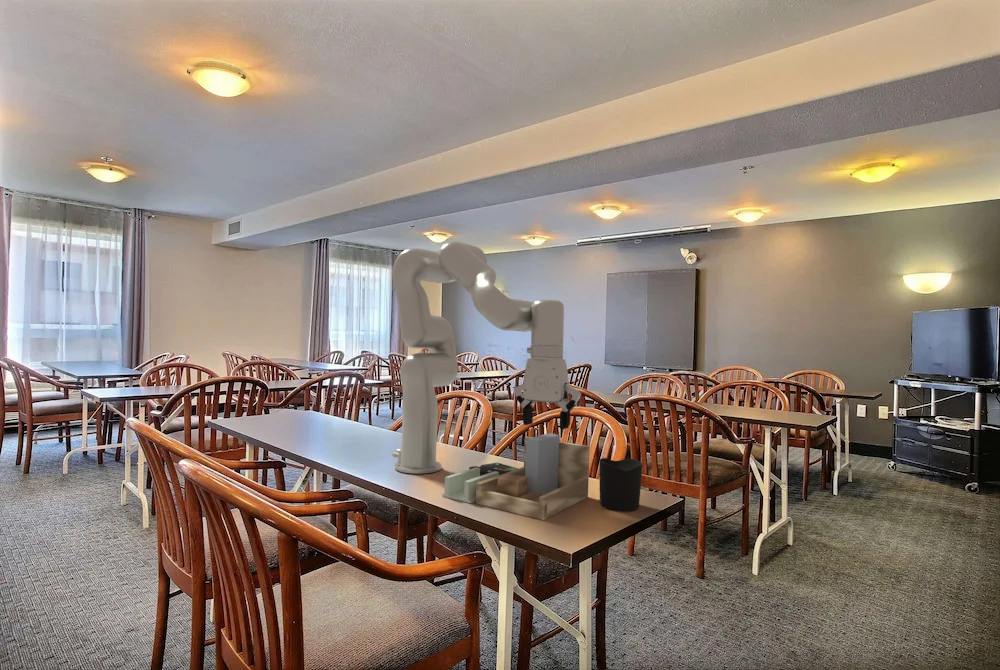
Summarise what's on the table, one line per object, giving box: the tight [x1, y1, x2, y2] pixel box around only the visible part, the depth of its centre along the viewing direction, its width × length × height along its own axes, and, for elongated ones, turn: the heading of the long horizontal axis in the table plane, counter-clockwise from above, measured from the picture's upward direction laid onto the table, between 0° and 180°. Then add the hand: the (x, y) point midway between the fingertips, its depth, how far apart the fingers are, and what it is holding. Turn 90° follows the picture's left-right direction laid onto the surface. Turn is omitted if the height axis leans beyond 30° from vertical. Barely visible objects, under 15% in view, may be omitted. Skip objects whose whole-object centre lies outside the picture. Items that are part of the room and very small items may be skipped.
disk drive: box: [468, 462, 519, 476], centre depth 145 cm, size 10×3×15 cm
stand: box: [441, 467, 499, 504], centre depth 130 cm, size 8×12×5 cm, turn 146°
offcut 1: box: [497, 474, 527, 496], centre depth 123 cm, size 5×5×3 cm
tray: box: [475, 436, 591, 521], centre depth 127 cm, size 17×21×12 cm
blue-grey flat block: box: [525, 433, 560, 495], centre depth 129 cm, size 3×10×14 cm, turn 146°
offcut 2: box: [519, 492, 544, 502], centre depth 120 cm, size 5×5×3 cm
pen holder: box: [599, 457, 643, 513], centre depth 125 cm, size 9×9×10 cm
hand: (545, 426), depth 129 cm, fingers open, 9 cm apart
